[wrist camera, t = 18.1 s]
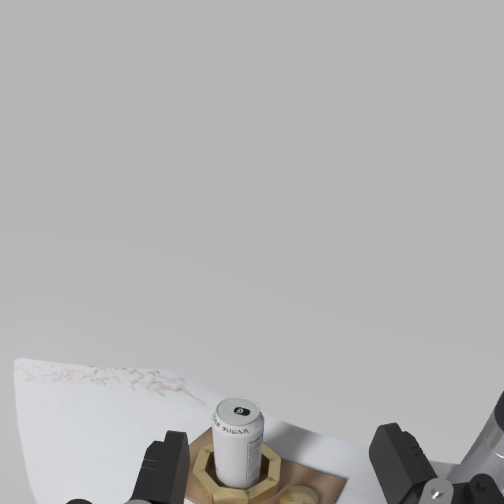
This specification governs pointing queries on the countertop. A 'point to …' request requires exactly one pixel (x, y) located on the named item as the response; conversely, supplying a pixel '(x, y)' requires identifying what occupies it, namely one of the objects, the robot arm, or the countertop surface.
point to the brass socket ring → (234, 500)
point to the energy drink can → (237, 442)
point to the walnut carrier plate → (289, 477)
